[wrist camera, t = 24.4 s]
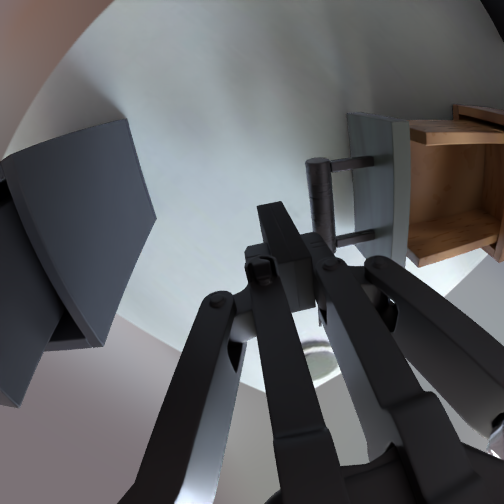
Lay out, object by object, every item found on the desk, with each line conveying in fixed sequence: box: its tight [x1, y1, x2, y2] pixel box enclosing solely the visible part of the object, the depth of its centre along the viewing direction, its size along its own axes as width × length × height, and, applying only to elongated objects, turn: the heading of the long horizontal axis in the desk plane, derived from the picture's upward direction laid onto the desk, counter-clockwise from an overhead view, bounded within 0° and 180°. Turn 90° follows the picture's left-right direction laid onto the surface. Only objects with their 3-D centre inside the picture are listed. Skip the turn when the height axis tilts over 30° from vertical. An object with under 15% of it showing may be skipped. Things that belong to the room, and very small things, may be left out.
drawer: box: [305, 112, 504, 268], centre depth 17 cm, size 19×10×6 cm, turn 100°
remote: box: [0, 195, 66, 408], centre depth 11 cm, size 3×5×16 cm, turn 10°
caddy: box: [0, 119, 157, 351], centre depth 13 cm, size 6×8×12 cm
